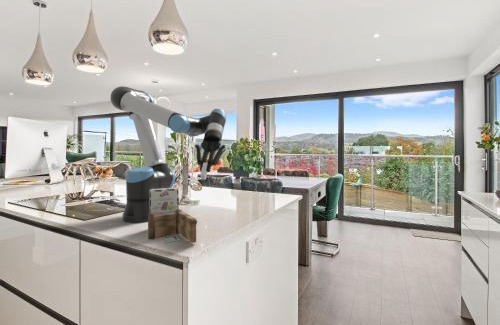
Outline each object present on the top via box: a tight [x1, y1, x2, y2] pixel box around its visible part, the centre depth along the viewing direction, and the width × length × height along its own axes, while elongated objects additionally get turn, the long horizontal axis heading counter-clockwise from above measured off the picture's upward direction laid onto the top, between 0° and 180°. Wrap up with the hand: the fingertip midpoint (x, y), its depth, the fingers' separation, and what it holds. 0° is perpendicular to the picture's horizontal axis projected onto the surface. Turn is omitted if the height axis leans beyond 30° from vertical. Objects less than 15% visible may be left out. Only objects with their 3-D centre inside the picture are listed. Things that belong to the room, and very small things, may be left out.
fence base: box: [147, 208, 183, 241], centre depth 104 cm, size 13×2×9 cm, turn 129°
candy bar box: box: [149, 187, 180, 216], centre depth 113 cm, size 11×5×16 cm, turn 114°
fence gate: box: [177, 210, 198, 244], centre depth 100 cm, size 14×2×8 cm, turn 33°
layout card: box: [161, 234, 181, 244], centre depth 100 cm, size 6×5×1 cm
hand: (202, 177), depth 107 cm, fingers closed
